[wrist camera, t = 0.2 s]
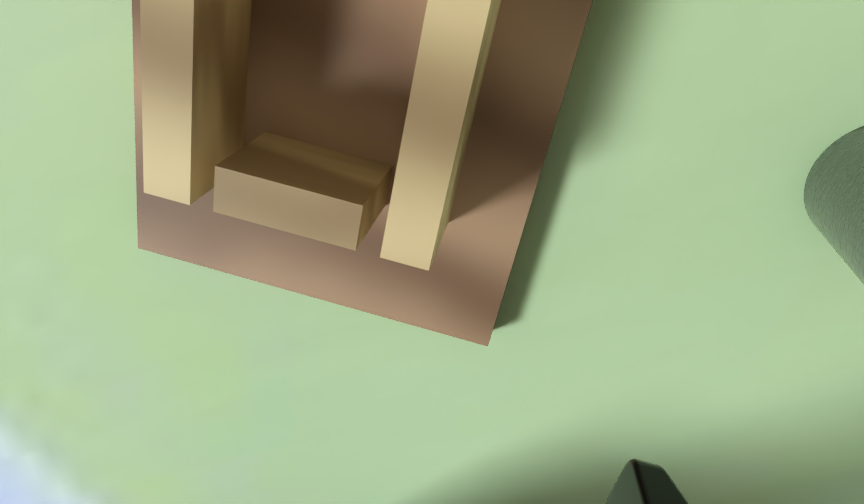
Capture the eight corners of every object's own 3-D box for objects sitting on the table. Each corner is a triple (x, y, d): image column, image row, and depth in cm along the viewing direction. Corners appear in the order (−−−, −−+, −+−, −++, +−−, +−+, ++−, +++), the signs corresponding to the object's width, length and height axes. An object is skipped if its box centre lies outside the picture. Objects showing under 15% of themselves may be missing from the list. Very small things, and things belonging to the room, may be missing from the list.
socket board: (490, 331, 25) (476, 408, 21) (152, 236, 26) (77, 292, 22) (663, -239, 16) (693, -293, 12) (145, -347, 17) (20, -428, 13)
